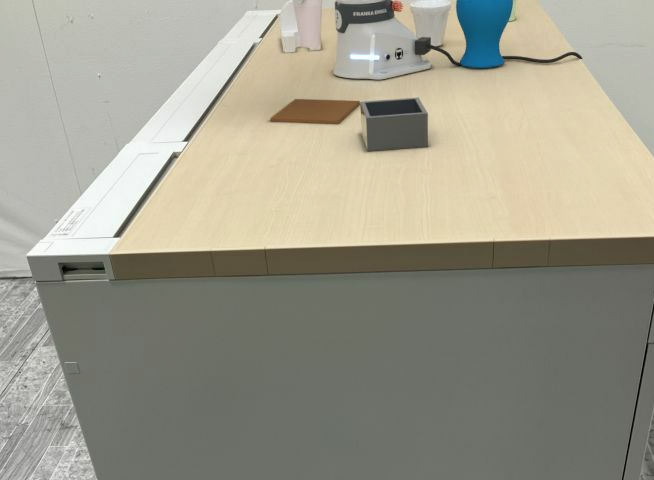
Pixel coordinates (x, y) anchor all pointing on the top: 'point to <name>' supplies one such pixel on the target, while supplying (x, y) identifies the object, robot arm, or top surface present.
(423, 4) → the cup
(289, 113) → the coaster
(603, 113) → the top surface
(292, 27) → the white u-slot block
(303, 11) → the smoothie
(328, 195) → the top surface
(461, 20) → the vase
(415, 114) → the holder
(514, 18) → the candle
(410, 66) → the robot arm
